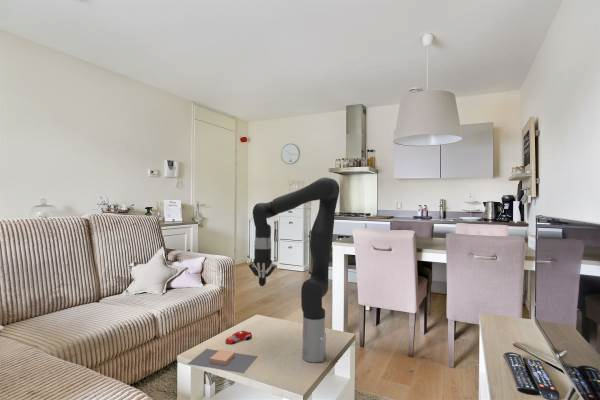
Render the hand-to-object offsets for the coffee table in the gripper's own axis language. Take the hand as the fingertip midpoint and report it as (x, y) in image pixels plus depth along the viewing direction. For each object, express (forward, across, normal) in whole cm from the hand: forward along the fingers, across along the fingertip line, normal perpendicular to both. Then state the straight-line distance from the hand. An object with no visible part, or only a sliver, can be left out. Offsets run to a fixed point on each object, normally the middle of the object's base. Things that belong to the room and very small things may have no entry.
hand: (262, 285), depth 147 cm
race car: (+28, +12, -2) cm, 30 cm away
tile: (+25, +6, +18) cm, 32 cm away
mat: (+27, +9, +18) cm, 34 cm away
